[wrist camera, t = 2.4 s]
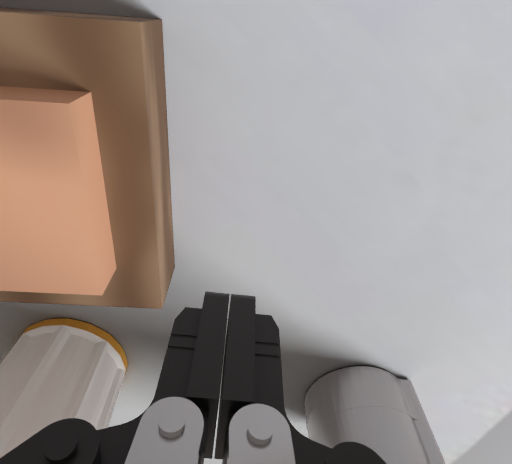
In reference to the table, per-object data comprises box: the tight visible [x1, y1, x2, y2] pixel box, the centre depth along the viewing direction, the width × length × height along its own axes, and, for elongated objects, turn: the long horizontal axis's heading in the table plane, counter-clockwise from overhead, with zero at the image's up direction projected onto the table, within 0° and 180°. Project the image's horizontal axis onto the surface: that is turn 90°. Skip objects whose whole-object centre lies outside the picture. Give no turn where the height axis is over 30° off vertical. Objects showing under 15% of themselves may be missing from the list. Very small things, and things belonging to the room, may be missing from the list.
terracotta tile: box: [0, 86, 116, 296], centre depth 19 cm, size 7×10×2 cm
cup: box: [0, 318, 128, 458], centre depth 26 cm, size 11×11×17 cm
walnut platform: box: [0, 8, 175, 309], centre depth 22 cm, size 16×16×4 cm
